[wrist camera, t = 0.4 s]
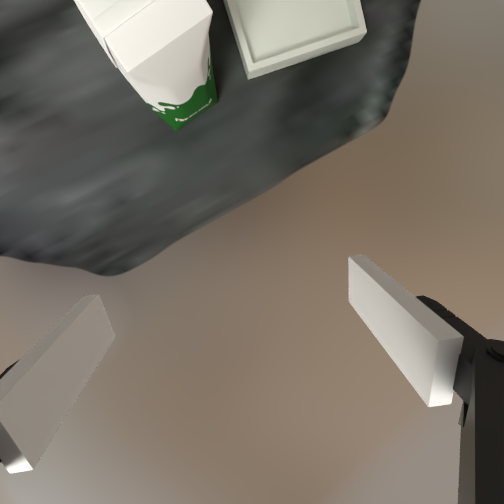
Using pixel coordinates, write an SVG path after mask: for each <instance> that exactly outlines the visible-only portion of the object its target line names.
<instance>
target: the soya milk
mask: <svg viewBox="0 0 504 504" xmlns="http://www.w3.org/2000/svg"><path fill="white" fill-rule="evenodd" d="M74 1H75V3H76V5H77V6H78V8H79V10H80V12H81V14H82V15H83V17H84V19H85V20H86V22H87V23H88V25H89V27H90V28H91V30H92V31H93V33H94V35H95V36H96V38H97V39H98V41H99V42H100V44H101V46H102V47H103V49H104V50H105V52H106V53H107V55H108V56H109V58H110V59H111V61H112V62H113V61H114V62H115V63H114V62H113V64H114V65H115V64H116V65H117V66H116V65H115V67H116V68H117V67H118V68H119V70H120V71H121V72H122V74H123V75H124V77H125V78H126V79H127V80H128V81H129V83H130V84H131V85H132V86H133V87H134V89H135V90H136V91H137V92H138V93H139V95H140V96H141V97H142V98H143V99H144V101H145V102H146V103H147V104H148V105H149V106H150V107H151V108H152V109H153V110H154V111H155V112H156V113H157V114H158V115H159V116H160V117H161V118H162V119H163V120H164V121H166V122H167V123H168V124H169V125H170V126H171V127H172V128H173V129H174V130H175V131H177V130H179V129H180V128H182V127H183V126H185V125H186V124H187V123H189V122H190V121H192V120H193V119H195V118H196V117H198V116H199V115H201V114H202V113H203V112H205V111H206V110H208V109H209V108H211V107H212V106H214V105H215V104H217V103H218V99H217V93H216V87H215V80H214V74H213V67H212V59H211V51H210V43H209V35H208V32H209V27H210V23H211V18H212V14H213V11H212V9H211V8H210V6H209V4H208V3H207V1H206V0H74ZM112 59H113V60H112Z"/></svg>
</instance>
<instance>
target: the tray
mask: <svg viewBox="0 0 504 504" xmlns="http://www.w3.org/2000/svg"><path fill="white" fill-rule="evenodd" d="M223 1H224V5H225V8H226V11H227V14H228V17H229V21H230V24H231V27H232V30H233V34H234V37H235V40H236V43H237V47H238V50H239V53H240V56H241V59H242V63H243V66H244V69H245V72H246V76H247V79H248V80H249V79H252V78H255V77H258V76H261V75H264V74H267V73H270V72H273V71H276V70H279V69H281V68H284V67H287V66H290V65H293V64H296V63H299V62H302V61H305V60H308V59H311V58H314V57H317V56H320V55H323V54H326V53H329V52H332V51H335V50H338V49H341V48H344V47H347V46H350V45H352V44H355V43H358V42H360V40H361V39H362V38H363V37H364V35H365V34H366V33H367V30H366V25H365V21H364V16H363V12H362V7H361V3H360V0H223Z"/></svg>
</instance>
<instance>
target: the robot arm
mask: <svg viewBox="0 0 504 504" xmlns="http://www.w3.org/2000/svg"><path fill="white" fill-rule="evenodd" d="M349 302H350V304H351V305H352V306H353V307H354V309H355V310H356V312H357V313H358V314H359V316H360V317H361V318H362V320H363V321H364V322H365V323H366V325H367V326H368V328H369V329H370V330H371V332H372V333H373V334H374V335H375V337H376V338H377V339H378V341H379V342H380V343H381V345H382V346H383V347H384V349H385V350H386V351H387V353H388V354H389V355H390V357H391V358H392V359H393V361H394V362H395V363H396V365H397V366H398V367H399V369H400V370H401V371H402V373H403V374H404V375H405V377H406V378H407V379H408V381H409V382H410V383H411V384H412V386H413V387H414V389H415V390H416V391H417V393H418V394H419V395H420V397H421V398H422V399H423V400H424V402H425V403H426V405H427V406H428V407H433V406H440V405H446V404H451V402H452V396H453V391H455V392H457V394H458V395H459V396H460V397H461V398H462V399H463V404H462V409H461V414H460V418H459V423H458V424H459V425H461V439H460V440H461V441H460V465H459V488H458V504H504V341H500V340H493V339H486V338H485V337H483V336H482V335H481V334H479V333H478V332H477V331H475V330H474V329H473V328H472V327H470V326H469V325H467V324H466V323H465V322H464V321H462V320H461V319H459V318H458V317H456V316H455V315H454V314H453V313H452V312H450V311H449V310H448V311H447V309H446V308H445V307H444V306H442V305H441V304H440V303H438V302H437V301H435V300H433V299H430V298H428V297H426V296H417V297H415V296H413V295H412V294H411V293H410V292H409V291H407V290H406V289H405V288H404V287H403V286H401V285H400V284H399V283H398V282H396V281H395V280H394V279H393V278H392V277H390V276H389V275H388V274H387V273H385V272H384V271H383V270H382V269H381V268H379V267H378V266H377V265H376V264H374V263H373V262H372V261H371V260H369V259H368V258H367V257H366V256H365V255H363V254H361V255H354V256H349ZM114 339H115V334H114V332H113V329H112V327H111V324H110V322H109V319H108V316H107V314H106V311H105V309H104V306H103V304H102V301H101V298H100V296H99V294H94V295H87V296H84V297H82V298H81V300H79V301H78V303H77V304H75V305H74V306H73V307H72V308H71V309H70V310H69V311H68V312H67V314H65V315H64V316H63V317H62V318H61V319H60V320H59V321H58V322H57V323H56V324H55V325H54V326H53V327H52V328H51V329H50V330H49V331H48V332H47V333H46V334H45V335H44V336H43V338H41V339H40V340H39V341H38V342H37V343H36V344H35V345H34V346H33V348H31V349H30V350H29V351H28V352H27V353H26V354H25V355H24V356H23V357H22V358H21V359H20V360H18V361H17V362H15V363H14V364H13V365H11V366H9V367H8V368H7V369H6V370H5V371H4V372H3V373H2V374H1V375H0V462H2V463H3V465H4V466H5V468H6V469H7V470H8V472H9V473H15V472H22V471H28V470H33V469H34V468H35V466H36V464H37V463H38V461H39V460H40V457H41V456H42V455H43V453H44V452H45V450H46V448H47V447H48V445H49V443H50V442H51V440H52V439H53V437H54V435H55V434H56V432H57V430H58V429H59V427H60V426H61V424H62V422H63V421H64V419H65V417H66V416H67V414H68V413H69V411H70V410H71V408H72V406H73V405H74V403H75V401H76V400H77V398H78V397H79V395H80V393H81V392H82V390H83V388H84V387H85V385H86V384H87V382H88V381H89V379H90V377H91V376H92V374H93V372H94V371H95V369H96V368H97V366H98V364H99V363H100V361H101V359H102V358H103V356H104V355H105V353H106V351H107V350H108V348H109V346H110V345H111V343H112V342H113V340H114Z"/></svg>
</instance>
